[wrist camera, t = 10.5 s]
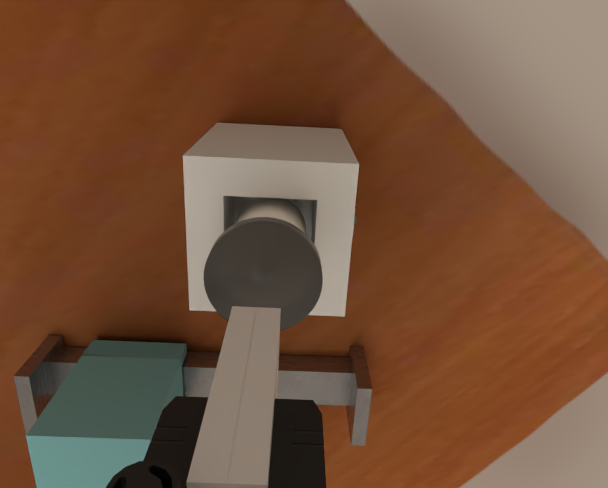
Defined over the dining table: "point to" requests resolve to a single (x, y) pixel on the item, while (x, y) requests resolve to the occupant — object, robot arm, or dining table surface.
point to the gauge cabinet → (272, 195)
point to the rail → (199, 376)
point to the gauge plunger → (265, 263)
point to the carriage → (104, 412)
